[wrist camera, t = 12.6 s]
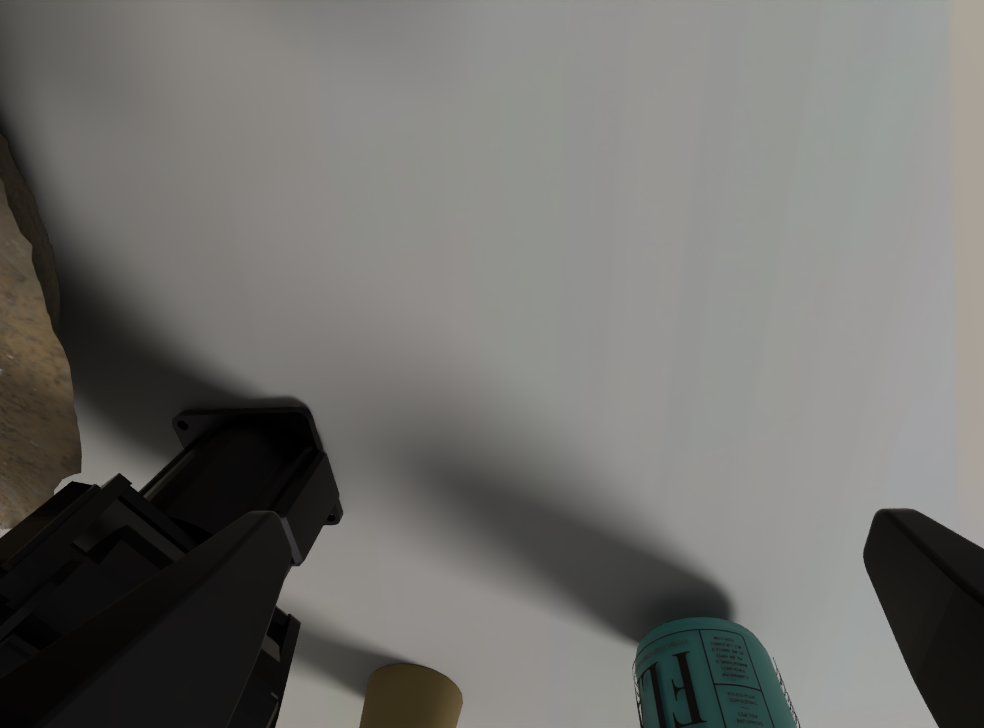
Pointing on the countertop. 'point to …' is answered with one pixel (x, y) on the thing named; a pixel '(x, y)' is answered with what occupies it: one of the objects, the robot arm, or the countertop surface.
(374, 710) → the cork
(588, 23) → the countertop surface
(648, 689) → the beverage bottle
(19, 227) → the stone bowl
